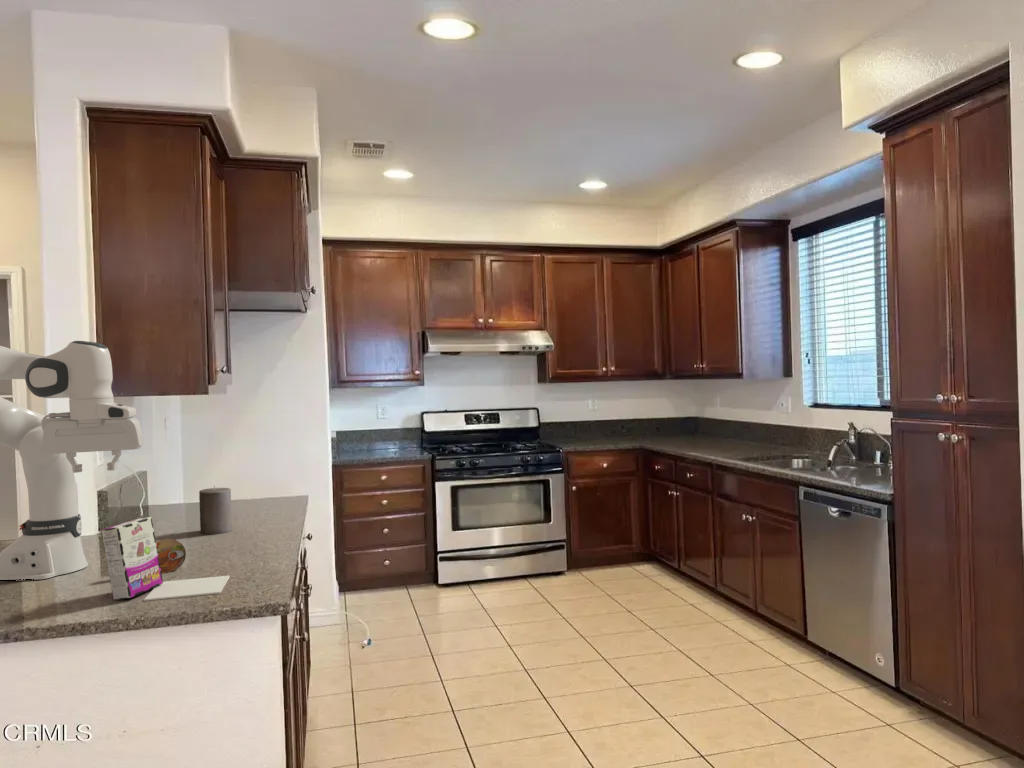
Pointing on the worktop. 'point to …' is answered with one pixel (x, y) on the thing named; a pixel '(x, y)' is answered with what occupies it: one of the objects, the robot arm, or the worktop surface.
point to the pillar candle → (215, 510)
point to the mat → (188, 588)
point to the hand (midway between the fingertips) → (94, 471)
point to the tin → (170, 554)
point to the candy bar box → (132, 558)
